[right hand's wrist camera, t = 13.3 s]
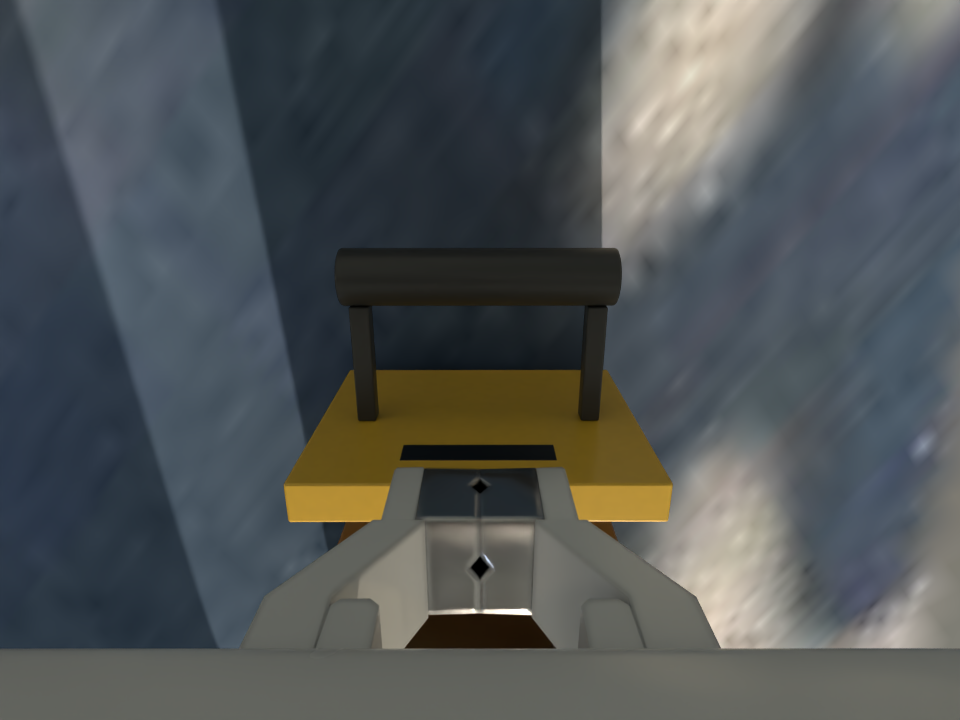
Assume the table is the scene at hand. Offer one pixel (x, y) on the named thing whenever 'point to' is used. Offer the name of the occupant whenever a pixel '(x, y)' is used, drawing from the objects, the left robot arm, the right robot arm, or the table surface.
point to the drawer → (477, 408)
